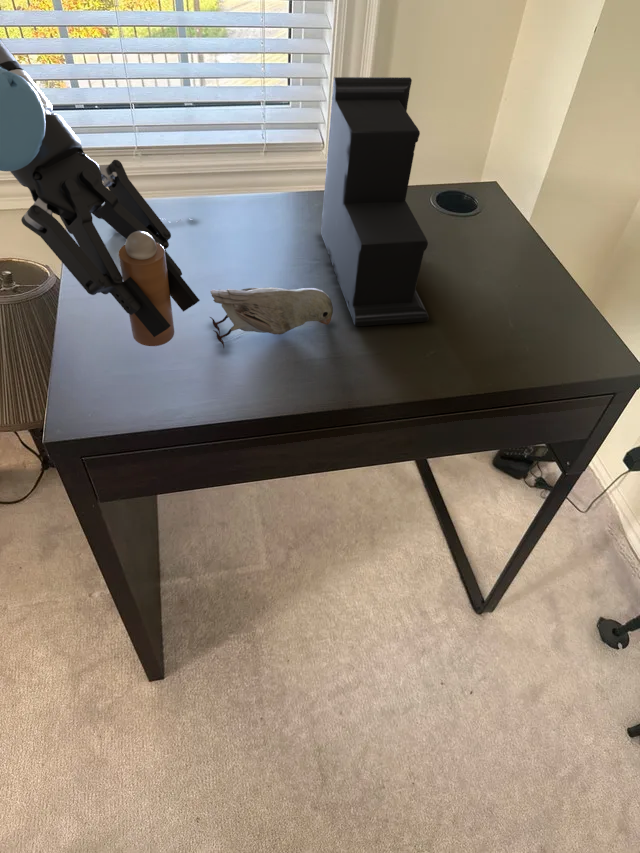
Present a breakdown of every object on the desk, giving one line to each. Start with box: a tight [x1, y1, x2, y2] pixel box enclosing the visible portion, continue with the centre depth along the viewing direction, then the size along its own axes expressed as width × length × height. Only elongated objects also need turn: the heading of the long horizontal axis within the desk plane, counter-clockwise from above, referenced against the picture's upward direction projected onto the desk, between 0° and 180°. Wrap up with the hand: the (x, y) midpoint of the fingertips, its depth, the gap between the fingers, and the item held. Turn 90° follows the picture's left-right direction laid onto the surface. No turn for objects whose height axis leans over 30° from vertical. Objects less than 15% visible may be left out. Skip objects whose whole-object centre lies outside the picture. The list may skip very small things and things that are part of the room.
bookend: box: [320, 76, 430, 327], centre depth 86 cm, size 23×11×24 cm, turn 11°
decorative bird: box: [209, 287, 334, 349], centre depth 82 cm, size 5×16×8 cm, turn 107°
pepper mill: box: [117, 231, 175, 347], centre depth 71 cm, size 5×5×13 cm
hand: (177, 318), depth 72 cm, fingers closed on pepper mill, 5 cm apart
